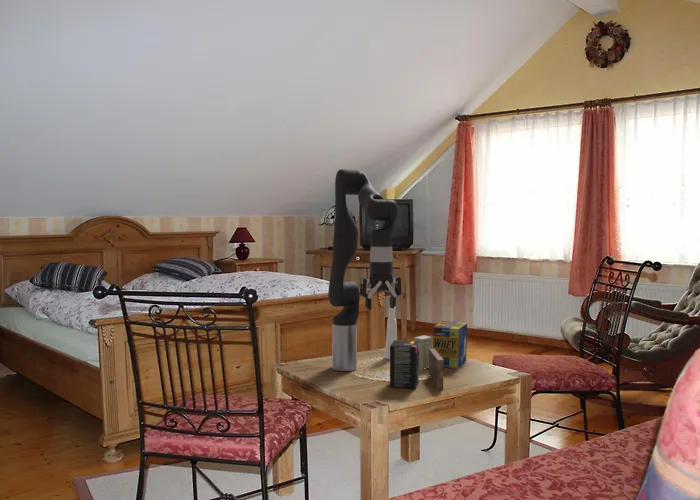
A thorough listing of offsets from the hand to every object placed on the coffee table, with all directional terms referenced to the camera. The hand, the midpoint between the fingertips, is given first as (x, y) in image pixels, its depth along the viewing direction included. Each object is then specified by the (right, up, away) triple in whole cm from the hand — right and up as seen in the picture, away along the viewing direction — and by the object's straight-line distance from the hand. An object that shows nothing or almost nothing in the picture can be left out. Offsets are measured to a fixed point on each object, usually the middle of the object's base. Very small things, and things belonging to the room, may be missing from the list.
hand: (380, 308), depth 224 cm
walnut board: (+20, -27, +15) cm, 37 cm away
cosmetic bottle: (+7, -25, +52) cm, 58 cm away
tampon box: (+9, -28, +11) cm, 31 cm away
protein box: (+29, -26, +43) cm, 58 cm away
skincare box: (+18, -26, +35) cm, 47 cm away
